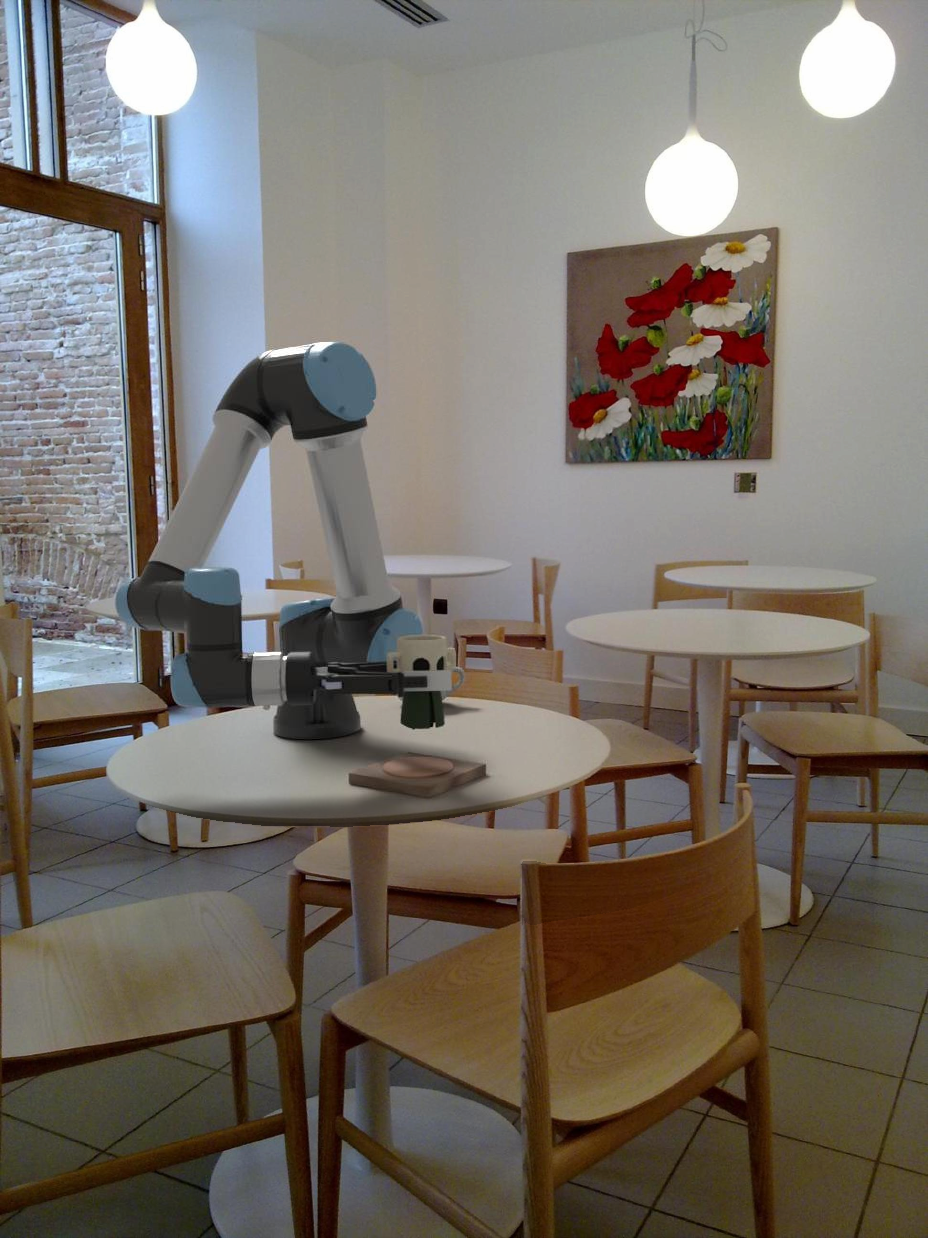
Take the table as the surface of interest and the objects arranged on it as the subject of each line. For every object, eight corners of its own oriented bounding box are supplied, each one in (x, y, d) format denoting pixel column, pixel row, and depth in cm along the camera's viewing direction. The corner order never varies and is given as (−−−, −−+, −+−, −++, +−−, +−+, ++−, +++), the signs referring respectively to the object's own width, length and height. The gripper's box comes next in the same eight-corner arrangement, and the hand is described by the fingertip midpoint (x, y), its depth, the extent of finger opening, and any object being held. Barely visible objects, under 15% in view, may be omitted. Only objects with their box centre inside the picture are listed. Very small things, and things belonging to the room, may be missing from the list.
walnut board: (409, 761, 153) (408, 749, 153) (486, 774, 145) (485, 761, 145) (348, 783, 142) (348, 770, 141) (429, 798, 134) (428, 784, 134)
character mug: (399, 737, 137) (397, 642, 135) (377, 728, 143) (375, 637, 142) (468, 728, 142) (467, 637, 141) (444, 720, 148) (443, 632, 147)
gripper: (294, 692, 151) (446, 689, 152) (278, 719, 131) (454, 715, 132) (293, 643, 150) (446, 640, 152) (277, 662, 130) (453, 659, 132)
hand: (449, 675), depth 142 cm, fingers closed on character mug, 7 cm apart
